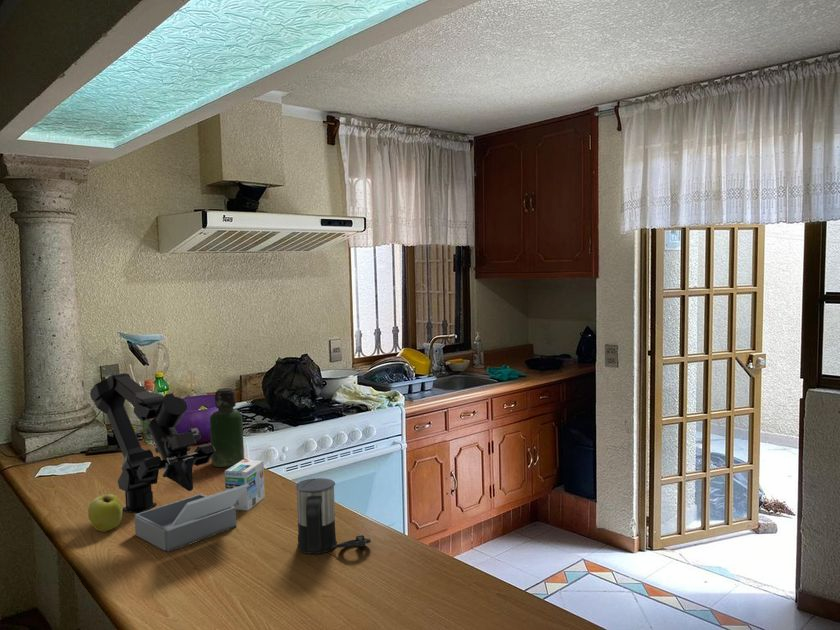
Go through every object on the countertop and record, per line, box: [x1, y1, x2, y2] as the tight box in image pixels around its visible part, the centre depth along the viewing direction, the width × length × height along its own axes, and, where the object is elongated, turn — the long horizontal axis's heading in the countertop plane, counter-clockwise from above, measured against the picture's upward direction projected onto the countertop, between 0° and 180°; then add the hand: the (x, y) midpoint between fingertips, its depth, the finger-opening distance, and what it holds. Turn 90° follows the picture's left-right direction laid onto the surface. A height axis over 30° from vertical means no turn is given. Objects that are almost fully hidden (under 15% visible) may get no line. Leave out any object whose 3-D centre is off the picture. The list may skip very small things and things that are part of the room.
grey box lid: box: [171, 484, 249, 527], centre depth 149 cm, size 1×16×10 cm
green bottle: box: [209, 387, 245, 468], centre depth 211 cm, size 10×10×25 cm
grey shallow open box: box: [134, 493, 237, 553], centre depth 157 cm, size 16×19×5 cm
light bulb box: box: [224, 459, 266, 511], centre depth 175 cm, size 11×7×11 cm, turn 168°
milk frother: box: [295, 477, 372, 555], centre depth 146 cm, size 14×16×15 cm
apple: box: [87, 491, 124, 532], centre depth 158 cm, size 8×8×10 cm
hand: (191, 490), depth 154 cm, fingers closed
